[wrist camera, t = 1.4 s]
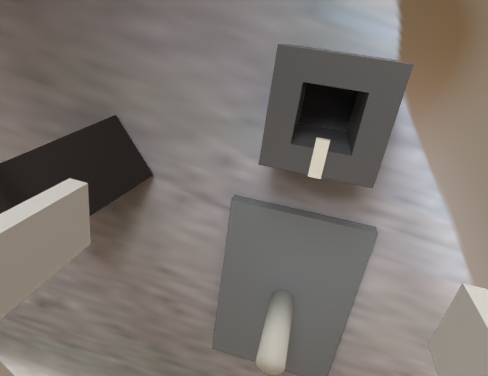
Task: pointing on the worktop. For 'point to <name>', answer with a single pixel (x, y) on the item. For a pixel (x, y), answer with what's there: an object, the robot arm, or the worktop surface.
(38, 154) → the phone stand
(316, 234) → the panel
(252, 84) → the worktop surface
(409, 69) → the gray square frame
